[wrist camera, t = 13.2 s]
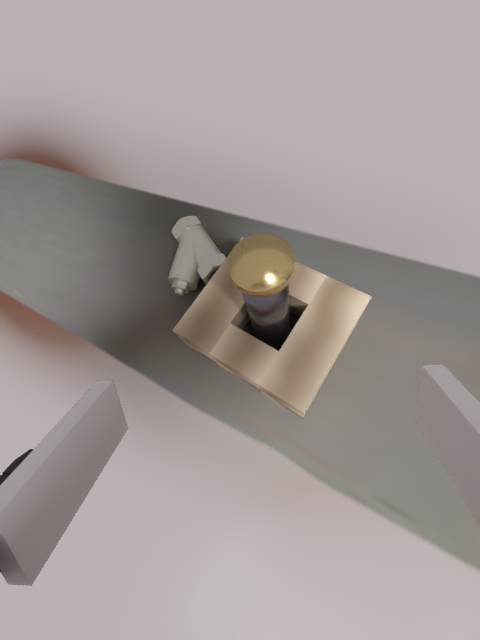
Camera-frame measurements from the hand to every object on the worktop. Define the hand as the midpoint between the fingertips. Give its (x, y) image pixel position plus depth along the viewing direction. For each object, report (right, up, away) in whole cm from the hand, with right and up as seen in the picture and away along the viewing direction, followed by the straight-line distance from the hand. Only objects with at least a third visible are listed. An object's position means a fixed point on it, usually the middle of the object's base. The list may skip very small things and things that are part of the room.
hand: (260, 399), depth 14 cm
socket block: (+2, +2, +19) cm, 19 cm away
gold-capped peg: (+2, +2, +19) cm, 19 cm away
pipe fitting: (-6, +10, +24) cm, 27 cm away
